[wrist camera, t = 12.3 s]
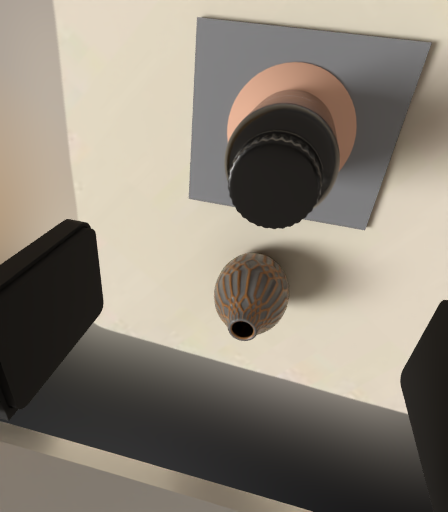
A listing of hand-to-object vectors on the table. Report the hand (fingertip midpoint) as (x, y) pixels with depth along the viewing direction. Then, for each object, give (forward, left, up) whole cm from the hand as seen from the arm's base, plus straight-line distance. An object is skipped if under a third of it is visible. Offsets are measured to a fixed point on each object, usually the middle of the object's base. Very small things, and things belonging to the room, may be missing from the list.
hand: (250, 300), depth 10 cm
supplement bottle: (0, 0, -22) cm, 22 cm away
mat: (0, 0, -22) cm, 22 cm away
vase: (+1, +14, -22) cm, 26 cm away
